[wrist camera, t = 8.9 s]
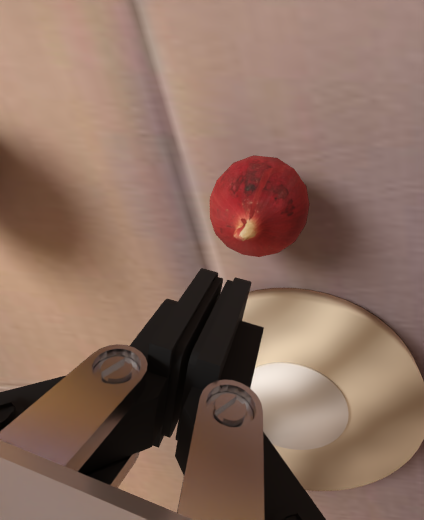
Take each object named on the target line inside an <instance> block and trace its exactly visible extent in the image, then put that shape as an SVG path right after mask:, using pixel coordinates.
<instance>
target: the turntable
mask: <svg viewBox="0 0 424 520" xmlns="http://www.w3.org/2000/svg"><path fill="white" fill-rule="evenodd" d="M242 321H244V322H247V323H251V324H254V325H258V326H261V327H264V330H263V335H262V339H261V343H260V348H259V352H258V357H257V361H256V365H255V370H254V374H253V379H252V383H251V387H250V389H251V390H252V391H253V392H254V393H255V394H256V395H257V396H258V398H259V400H260V402H261V404H262V409H263V432H264V433H265V434H266V436H267V437H268V439H269V440H270V441H271V443H272V444H273V446H274V447H275V448H276V450H277V451H278V453H279V454H280V456H281V457H282V458H283V460H284V461H285V463H286V464H287V465H288V467H289V468H290V470H291V471H292V472H293V474H294V475H295V477H296V478H297V480H298V481H299V482H300V484H301V485H302V487H303V488H304V489H305V490H311V491H336V490H345V489H351V488H356V487H361V486H364V485H367V484H370V483H373V482H376V481H378V480H380V479H382V478H385V477H387V476H389V475H390V474H392V473H393V472H395V471H396V470H398V469H399V468H401V467H402V466H403V465H404V464H405V463H406V462H408V461H409V460H410V459H411V457H412V456H413V455H414V454H415V453H416V451H417V450H418V449H419V447H420V445H421V443H422V441H423V440H424V381H423V378H422V376H421V374H420V371H419V369H418V367H417V365H416V362H415V360H414V358H413V356H412V354H411V353H410V351H409V350H408V348H407V347H406V345H405V344H404V342H403V341H402V340H401V339H400V338H399V337H398V336H397V334H396V333H395V332H394V331H393V330H392V329H391V328H390V327H388V326H387V325H386V324H385V323H384V322H382V321H381V320H380V319H379V318H377V317H376V316H374V315H373V314H371V313H370V312H368V311H366V310H365V309H363V308H361V307H359V306H357V305H355V304H353V303H351V302H349V301H347V300H344V299H341V298H338V297H335V296H332V295H330V294H326V293H322V292H317V291H312V290H306V289H297V288H270V289H262V290H255V291H251V292H249V295H248V299H247V303H246V307H245V311H244V315H243V319H242Z"/></svg>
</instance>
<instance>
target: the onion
mask: <svg viewBox="0 0 424 520" xmlns="http://www.w3.org/2000/svg"><path fill="white" fill-rule="evenodd" d="M308 210H309V200H308V194H307V188H306V186H305V184H304V183H303V181H302V180H301V178H300V177H299V175H298V174H297V172H296V171H295V170H294V169H293V168H292V167H290V166H289V165H287V164H285V163H284V162H282V161H281V160H279V159H278V158H273V157H263V156H251V157H248V158H246V159H243V160H240V161H237V162H235V163H233V164H232V165H231V166H230V167H229V168H228V169H227V170H226V171H225V172H224V174H223V175H222V176H221V177H220V178H219V179H218V180H217V182H216V184H215V187H214V189H213V191H212V194H211V196H210V219H211V222H212V225H213V228H214V231H215V234H216V235H217V236H218V237H219V238H220V239H221V240H222V242H223V243H224V244H225V245H226V246H227V247H229V248H231V249H233V250H235V251H237V252H239V253H241V254H243V255H250V256H256V257H261V256H265V255H270V254H275V253H278V252H280V251H282V250H283V249H285V248H286V247H288V246H289V245H291V244H292V243H294V242H295V241H296V239H297V237H298V236H299V234H300V233H301V231H302V230H303V228H304V226H305V224H306V221H307V215H308Z"/></svg>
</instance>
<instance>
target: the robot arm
mask: <svg viewBox="0 0 424 520" xmlns="http://www.w3.org/2000/svg"><path fill="white" fill-rule="evenodd" d="M222 283H223V278H219V277H218V273H217V272H214V271H210V270H206V269H203V268H201V269H200V271H199V272H198V274H197V275H196V277H195V278H194V279H193V281H192V282H191V284H190V285H189V287H188V288H187V290H186V291H185V292H184V294H183V295H182V297H181V298H180V300H179V301H178V302H177V301H173V300H170V299H166V300H165V301H164V302H163V303H162V304H161V306H160V307H159V308H158V310H157V311H156V312H155V314H154V315H153V316H152V318H151V319H150V320H149V321H148V323H147V324H146V325H145V327H144V328H143V329H142V331H141V332H140V333H139V334H138V336H137V337H136V338H135V340H134V341H133V342H132V344H131V345H130V346H128V345H110V346H106V347H104V348H101V349H99V350H97V351H96V352H94V353H93V354H92V355H90V356H89V357H88V358H87V359H86V360H84V361H83V362H82V363H81V364H80V365H79V366H77V367H76V368H75V369H74V370H73V371H71V372H70V373H69V374H68V375H67V376H63V377H59V378H55V379H51V380H47V381H43V382H39V383H35V384H31V385H27V386H23V387H19V388H15V389H12V390H8V391H4V392H0V520H326V519H325V518H324V516H323V515H322V513H321V512H320V511H319V509H318V508H317V506H316V505H315V504H314V502H313V501H312V499H311V498H310V497H309V495H308V494H307V492H306V491H305V489H304V488H303V487H302V485H301V484H300V482H299V481H298V480H297V478H296V477H295V475H294V474H293V472H292V471H291V470H290V468H289V467H288V465H287V464H286V463H285V461H284V460H283V458H282V457H281V456H280V454H279V453H278V451H277V450H276V448H275V447H274V446H273V444H272V443H271V441H270V440H269V439H268V437H267V436H266V434H265V433H264V432H263V409H262V404H261V402H260V400H259V398H258V396H257V395H256V394H255V393H254V392H253V391H252V390H251V389H250V387H251V383H252V379H253V374H254V370H255V365H256V361H257V357H258V352H259V348H260V343H261V339H262V335H263V330H264V327H261V326H258V325H254V324H251V323H247V322H244V321H242V319H243V315H244V311H245V307H246V303H247V299H248V295H249V291H250V286H251V282H250V281H246V280H243V279H239V278H234V280H233V281H230V280H227V282H226V284H225V286H224V288H223V290H222V292H221V288H222ZM220 293H221V294H220ZM178 420H179V421H178ZM177 422H178V427H177V433H176V440H178V442H177V448H176V454H175V457H176V459H177V461H178V463H179V466H180V468H181V470H182V472H183V475H184V479H183V484H182V489H181V495H180V500H179V505H178V510H177V513H176V512H173V511H171V510H169V509H166V508H164V507H161V506H159V505H157V504H154V503H152V502H149V501H147V500H144V499H142V498H140V497H137V496H135V495H132V494H130V493H128V492H125V491H123V490H120V489H118V487H119V485H120V484H121V482H122V481H123V479H124V478H125V476H126V475H127V474H128V472H129V471H130V469H131V468H132V466H133V465H134V463H135V462H136V460H137V458H138V456H139V452H140V451H143V450H145V449H148V448H150V447H152V445H153V446H156V447H159V446H160V443H161V441H162V439H163V437H164V436H167V437H171V435H172V433H173V431H174V429H175V426H176V424H177Z"/></svg>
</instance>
